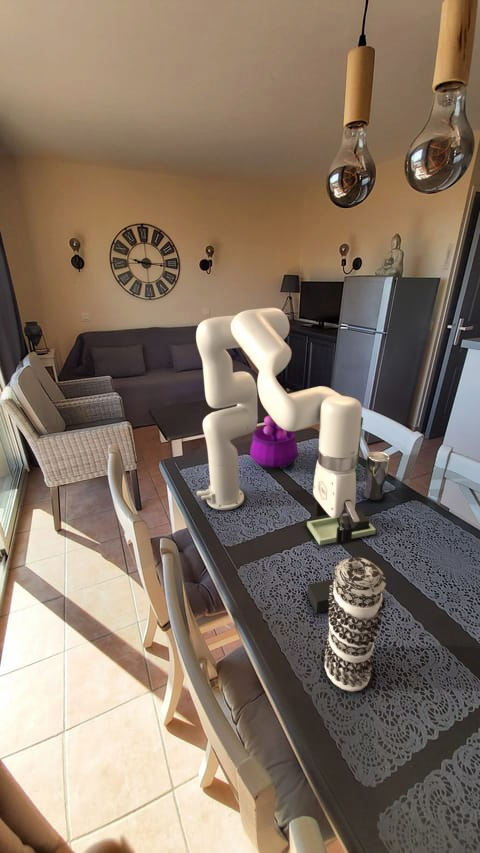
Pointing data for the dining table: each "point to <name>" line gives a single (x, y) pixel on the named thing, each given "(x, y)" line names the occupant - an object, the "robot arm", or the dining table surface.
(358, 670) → the decorative candle
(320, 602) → the black rectangular block
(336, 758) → the dining table surface
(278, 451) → the decorative plant
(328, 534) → the tray
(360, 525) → the seated pad
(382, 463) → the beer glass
